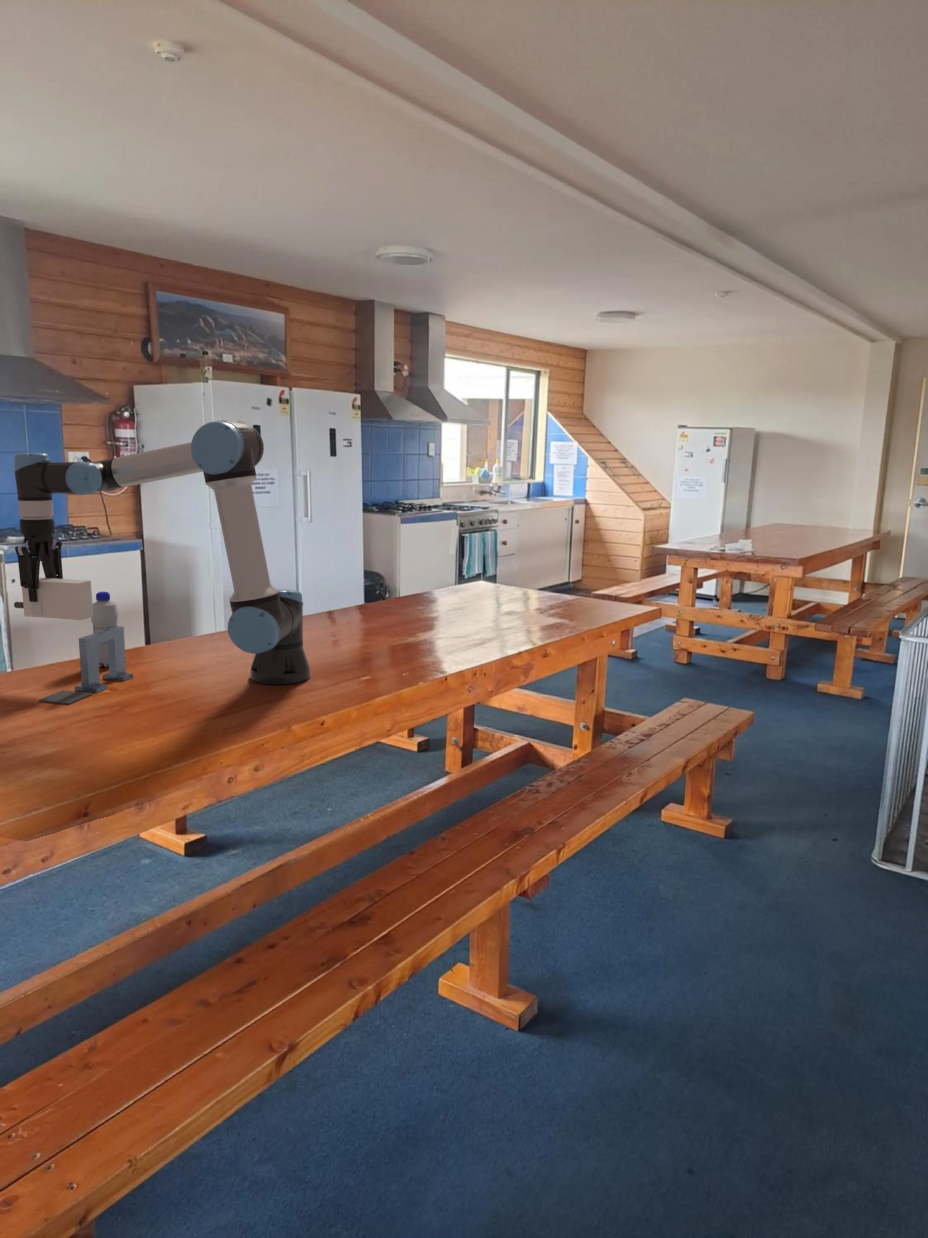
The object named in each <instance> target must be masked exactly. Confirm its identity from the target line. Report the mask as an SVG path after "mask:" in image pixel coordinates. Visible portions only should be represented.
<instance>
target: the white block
mask: <svg viewBox="0 0 928 1238" xmlns="http://www.w3.org/2000/svg"><path fill="white" fill-rule="evenodd" d="M38 588H41V594H42V605H43V615H32V613H31V602H30V601H29V593H28V588H24V587H21V592H22V601H14V602H13V607H14V608H15V609H23V615H24V617H28V618H29V617H32V618H45V619H47V618H48V619H59V620H75V621H76V620H77V621H83V620H86V619H87V620H88V619H91V617H93V594H92V593H93V592H92V581H91V580H90V579H89V580H88V579H86V580H85V579H70V578H69V579H68V578H63V579H54V578H45V577H39V583H38Z"/></svg>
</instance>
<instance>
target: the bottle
mask: <svg viewBox="0 0 928 1238" xmlns="http://www.w3.org/2000/svg"><path fill="white" fill-rule="evenodd" d="M95 600H96V601H95V602H92V604H93V617H90V619H91V620H90V621H91V623H92V632H93V633H92V634H94V633H97V632H100V631H103V630H106V629H109V628H112V627H116V626H118V621H119V612H118V608H117V603H116V602H113V601H111V594H110V592H108V591H98V592H97V593H96V595H95ZM97 645H98V661H99V668H102V667H103V666H104V667H105V668H109V660H108V644H107V641H104V642H101V643H98V644H97Z"/></svg>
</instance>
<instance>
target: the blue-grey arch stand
mask: <svg viewBox="0 0 928 1238" xmlns="http://www.w3.org/2000/svg"><path fill="white" fill-rule="evenodd" d="M104 641H107V644H108V660H109V664H108V672H107V673H105V674H102V680H107V681H117V682H119V681H120V682H126V681H128V680H130V679H132V678H134V673H132V672H127V665H126V664H127V663H126V647H125V646H126V644H125V628H124V626H119V625H117V626H116V627H112V628H109V629H106V630H103V631H100V632H97V633H94V634H93V633H91V634H88V635H84V636H81V637H79V638H78V649H79V652H78V653H79V662H80V664H79V665H80V675H81V676H80V678H81V680H80V681H81V683H80V684H77V685H75V686H74V691H75V692H85V693H95V694H98V693H99V692H102V691H104V690H107V689H108V684H107V683H101V681H100V680H101V679H100V667H99V661H98V645H97V644H98V643H101V642H104Z"/></svg>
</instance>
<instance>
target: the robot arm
mask: <svg viewBox="0 0 928 1238" xmlns="http://www.w3.org/2000/svg"><path fill="white" fill-rule="evenodd" d="M264 444H265V443H264V441H263V438H262V436H261V434H260V433H259V432H258V430H257V429H256V428H254V427H253V426H251V425H250V424H248V423H245V422H239V421H238V422H237V421H235V422H234V421H228V420H215V421H210V422H207V423H205V424H203V425H201V426H200V427H199V428H198V429H197V431H195V433H194V434H193V436H192V439H191V441H190V442H186V443H180V444H177V445H171V446H166V447H162V448H158V449H157V448H156V449H152V450H146V451H142V452H138V453H133V454H127V455H123V456H119V457H118V456H117V457H114V458H108V459H103V460H97V461H51V460H50V456H49V455H48V454H47V453H44V452H43V453H38V452H19V453H17V454H15V455H14V470H13V472H14V478H15V485H16V493H17V505H18V506H17V507H18V516H19V517H20V519H19V531H20V534H21V535H22V536H23V538H24V540H23V542H22V543H23V544H21V545H20V546H17V545H16V546H15V548H14V550H15V553H16V556H17V563H18V564H17V565H18V573H19V574H18V575H19V582H20V583H19V584H20V587H21V588H22V587H24V588H28V593H29V601H30V602H31V613H32V615H43V605H42V594H41V588H38V583H39V578H40V568H41V567H40V566H41V565H42V569H43V573H44V578H54V579H64V575H63V563H62V546H63V543H62V541H60V540H59V541H58V540H57V541H56V540H55V539H54V537H53V534H55V533H56V527H55V520H54V518H52V517H53V516H55V513H54V503H53V494H62V495H63V494H65V495H66V494H67V495H80V496H83V495H93V494H96V493H98V492H104V493H105V492H113V491H116V490H119V489H122V488H126V487H132V486H137V485H142V484H146V483H151V482H158V481H161V480H162V481H163V480H169V479H171V478H178V477H182V476H187V475H193V474H199V473H202V474H203V477H204V482H205V483H204V484H205V485H206V486H207V487H209V488H210V489H212V491H213V493H214V498H215V501H216V505H217V506H216V507H217V511H218V517H219V522H220V527H221V532H222V537H223V542H224V547H225V552H226V556H227V557H226V558H227V561H228V567H229V572H230V577H231V581H232V587H233V594H232V595H231V596H230V598H229V600H228V601H229V605H230V609H231V610H230V611H231V614H230V617H229V619H228V622H227V633H228V634H227V635H228V636H229V639H230V640H231V642H232V643H233V645H234V646H235V647H237V648H238V649H240V650H241V651H242V652H245V653H248V654H254V657H253V661H252V664H251V666H250V679H251V680H252V682H255V683H259V684H264V685H290V684H297V683H298V684H299V683H301V682H305V681H307V680H309V678H311V665H310V663H309V661H308V657H307V655H306V651H305V650H304V631H303V630H304V629H303V627H304V626H303V625H304V621H303V620H304V619H303V618H304V613H303V611H304V609H303V608H304V601H303V594H302V592H300V591H299V590H296V589H295V590H294V589H282V588H281V589H280V588H279V589H278V588H276V587H274V586H272V584H271V579H270V575H269V569H268V563H267V560H266V554H265V547H264V544H263V543H264V542H263V539H262V534H261V528H260V523H259V518H258V512H257V506H256V503H255V502H256V501H255V497H254V492H253V487H252V485H253V483H254V481H255V480H256V478H257V472H256V466H257V465H258V464H259V463H260V462H261V461H262V459H263V456H264V450H265V445H264Z"/></svg>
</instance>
